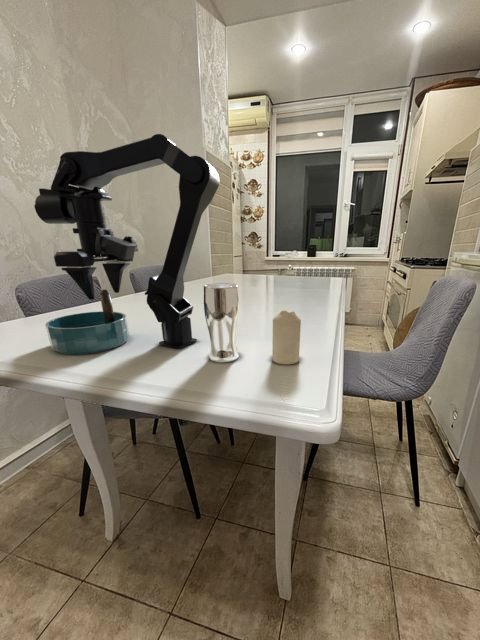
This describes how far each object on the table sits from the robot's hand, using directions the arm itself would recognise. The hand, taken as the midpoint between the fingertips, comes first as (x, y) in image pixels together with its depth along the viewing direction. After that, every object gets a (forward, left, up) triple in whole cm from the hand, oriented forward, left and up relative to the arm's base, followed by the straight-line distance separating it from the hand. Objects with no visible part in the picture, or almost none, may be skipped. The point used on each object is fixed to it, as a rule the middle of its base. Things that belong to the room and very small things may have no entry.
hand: (105, 295), depth 68 cm
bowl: (+2, +4, -11) cm, 12 cm away
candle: (-43, -9, -11) cm, 45 cm away
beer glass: (-31, -4, -11) cm, 33 cm away
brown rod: (0, 0, -10) cm, 10 cm away
